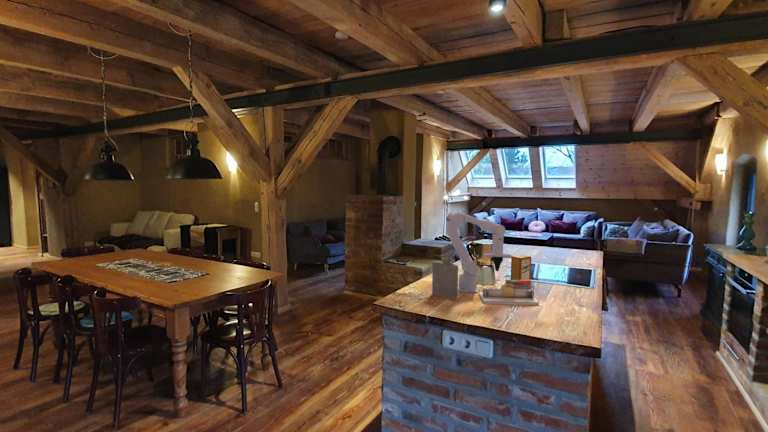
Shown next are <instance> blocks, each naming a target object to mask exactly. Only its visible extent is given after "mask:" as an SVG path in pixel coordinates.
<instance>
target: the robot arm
mask: <svg viewBox="0 0 768 432" xmlns="http://www.w3.org/2000/svg"><path fill="white" fill-rule="evenodd" d="M445 222H446V228H445V229H446V230H445V231H446V235H447V236H448V238H449V240H450V241H451V243H452V245H453V247H454V249H455V252H456V253H457V256H458V257H459V259H460V260H459V261H460V263H461V269H462V271H463V272H462V274H461V273H458V290H459V293H479V290H478V288H477V281H478V280H477V278H478V276H477V275H478V274H479V270H480V269H479V266H478V264H476V263H475V262H474V260H473V259H472V258H471V257H470V255H469V253H468V252H469V251H467V249H466V247H465V245H464V243H463V241H462V239H461V237H460V235H459V233H458V230H459V228H460V227H461V226H462V224H463V223H464V224H466V223H470V224H473V225H475V226H479V228H480V230H483V231H486V232H488V233H491V234H492V241H491V242H492V248H491V250H492V251H491V252H490V253H483V258H485V259H486V258H488V259H489V258H490V259H492V262H493V265H494V270H495V272H499V271H500V267H501V265H502V263H503V261H504V259H511V256H512V254H511V253H504V235H505V234H506V232H507V229H506V227H505V226H504V225H502V224H498V222H495V221H494V222H493V221H491V220H490V219H489V218H486V219H485V218H484V219H480V218H476V217H474V216H472V215H470V214H465V213H462V212H456V211H451V212H449V213H448V214H447V217H446V219H445Z"/></svg>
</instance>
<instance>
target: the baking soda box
mask: <svg viewBox="0 0 768 432" xmlns="http://www.w3.org/2000/svg"><path fill="white" fill-rule="evenodd" d="M510 259H511V260H510V263H511V264H510V280H531V276H532V275H531V274H532V256H531V255H525V254H517V255H511V258H510ZM531 281H532V280H531ZM515 285H518V286H521V285H523V284H520V283H515Z"/></svg>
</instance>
